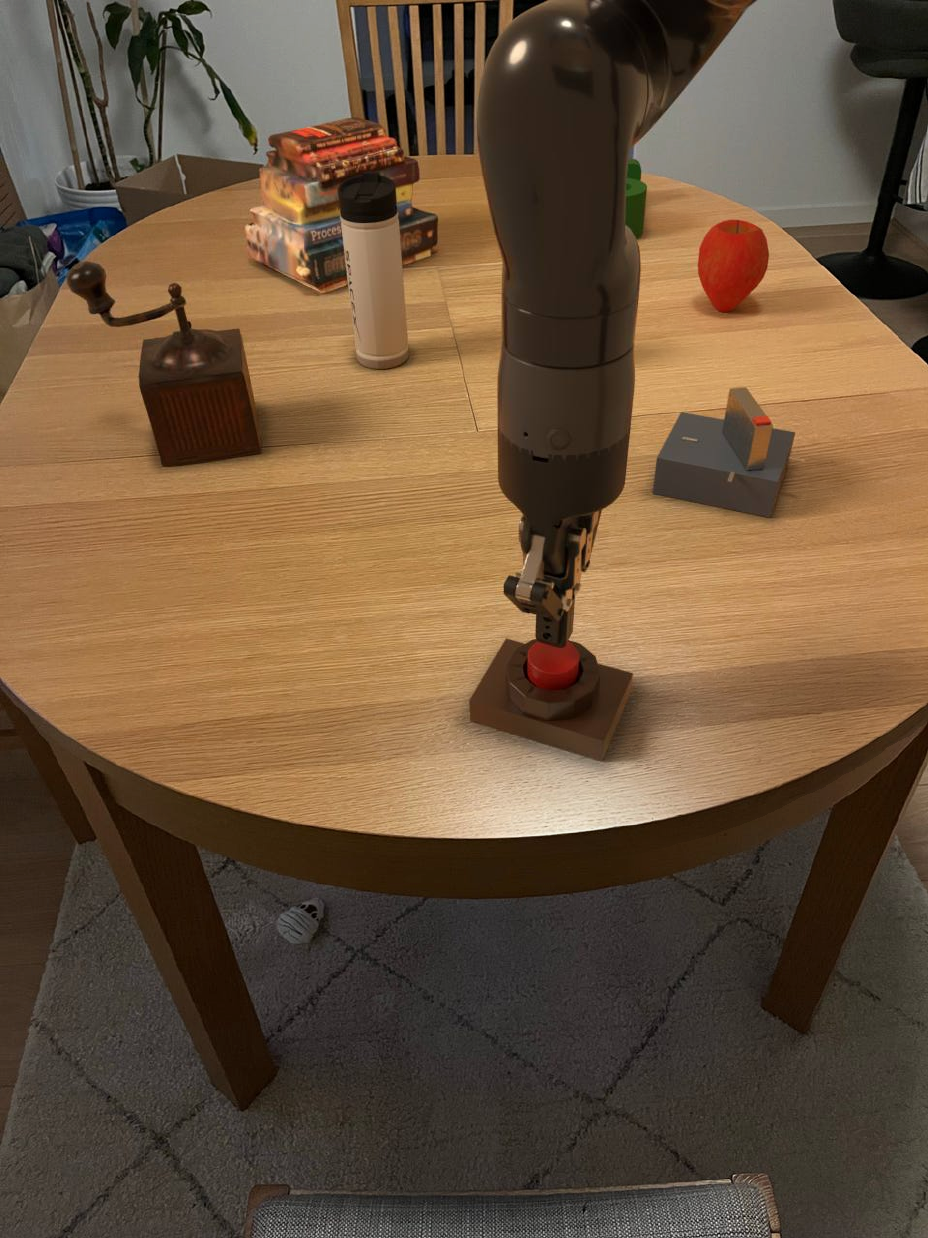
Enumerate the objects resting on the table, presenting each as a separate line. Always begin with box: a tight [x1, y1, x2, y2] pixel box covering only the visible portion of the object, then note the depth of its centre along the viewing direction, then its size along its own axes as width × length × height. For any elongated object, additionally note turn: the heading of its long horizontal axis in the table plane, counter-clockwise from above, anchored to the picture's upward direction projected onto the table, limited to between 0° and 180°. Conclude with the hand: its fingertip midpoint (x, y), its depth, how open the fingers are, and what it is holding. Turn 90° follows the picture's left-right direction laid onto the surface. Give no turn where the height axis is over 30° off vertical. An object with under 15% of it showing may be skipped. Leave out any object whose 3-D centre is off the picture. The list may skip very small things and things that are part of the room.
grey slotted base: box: [652, 411, 806, 519], centre depth 88 cm, size 13×11×4 cm
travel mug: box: [338, 172, 410, 370], centre depth 105 cm, size 6×7×20 cm
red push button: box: [527, 641, 579, 691], centre depth 65 cm, size 4×4×2 cm
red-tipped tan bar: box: [722, 386, 774, 470], centre depth 84 cm, size 7×2×5 cm, turn 6°
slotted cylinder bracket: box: [625, 158, 648, 240], centre depth 141 cm, size 18×9×6 cm, turn 176°
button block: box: [468, 638, 634, 762], centre depth 67 cm, size 10×7×4 cm
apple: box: [697, 219, 770, 313], centre depth 115 cm, size 9×8×11 cm
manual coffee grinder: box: [65, 260, 263, 467], centre depth 93 cm, size 16×11×18 cm
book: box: [244, 116, 439, 294], centre depth 130 cm, size 23×18×17 cm
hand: (553, 638), depth 64 cm, fingers closed
